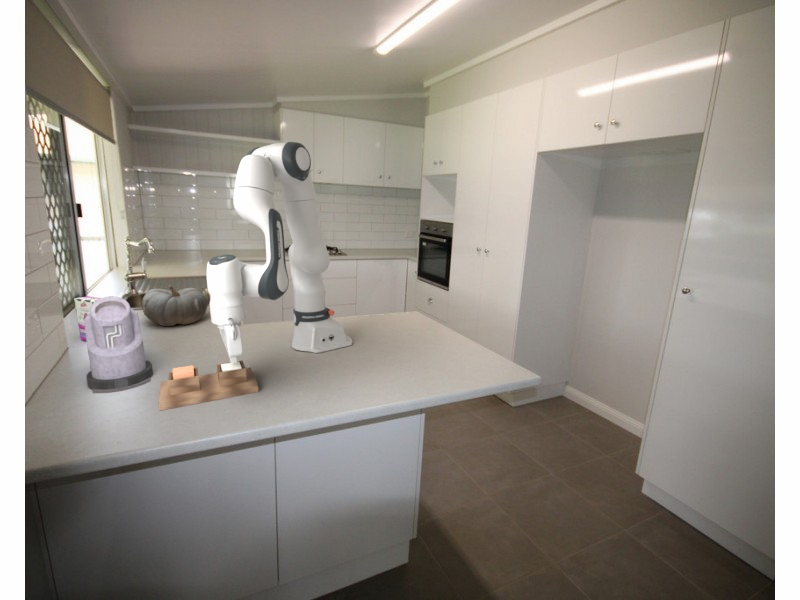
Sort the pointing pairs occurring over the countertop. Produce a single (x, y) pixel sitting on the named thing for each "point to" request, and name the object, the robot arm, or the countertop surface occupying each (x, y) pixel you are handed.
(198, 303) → the gourd
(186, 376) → the terracotta key
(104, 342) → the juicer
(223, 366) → the ivory key
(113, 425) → the countertop surface
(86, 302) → the candy bar box
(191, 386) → the key panel
